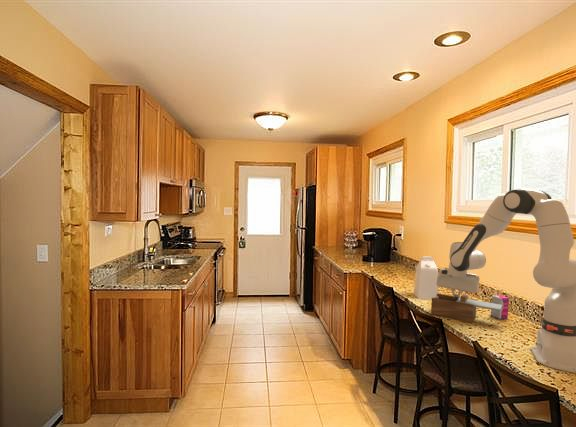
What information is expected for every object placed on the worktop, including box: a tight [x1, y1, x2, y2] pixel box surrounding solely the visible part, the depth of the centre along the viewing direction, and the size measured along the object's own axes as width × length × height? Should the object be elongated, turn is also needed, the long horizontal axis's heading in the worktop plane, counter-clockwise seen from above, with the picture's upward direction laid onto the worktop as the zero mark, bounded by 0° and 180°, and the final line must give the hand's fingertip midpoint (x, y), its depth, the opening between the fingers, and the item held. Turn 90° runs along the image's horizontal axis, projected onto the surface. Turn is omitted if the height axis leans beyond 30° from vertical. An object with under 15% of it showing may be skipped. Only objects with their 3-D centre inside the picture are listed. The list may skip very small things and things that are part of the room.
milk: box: [413, 255, 439, 300], centre depth 226 cm, size 12×12×26 cm
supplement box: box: [490, 294, 510, 320], centre depth 188 cm, size 6×6×12 cm
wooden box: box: [430, 292, 478, 324], centre depth 189 cm, size 12×20×9 cm, turn 54°
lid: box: [456, 293, 502, 311], centre depth 182 cm, size 9×20×4 cm, turn 54°
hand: (456, 297), depth 188 cm, fingers closed
